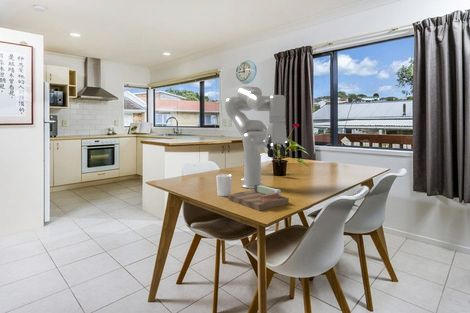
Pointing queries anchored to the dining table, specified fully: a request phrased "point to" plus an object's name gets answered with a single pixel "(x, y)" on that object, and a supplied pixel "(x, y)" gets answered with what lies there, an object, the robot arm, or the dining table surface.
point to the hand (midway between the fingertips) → (276, 156)
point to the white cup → (224, 184)
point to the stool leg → (266, 189)
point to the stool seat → (258, 199)
